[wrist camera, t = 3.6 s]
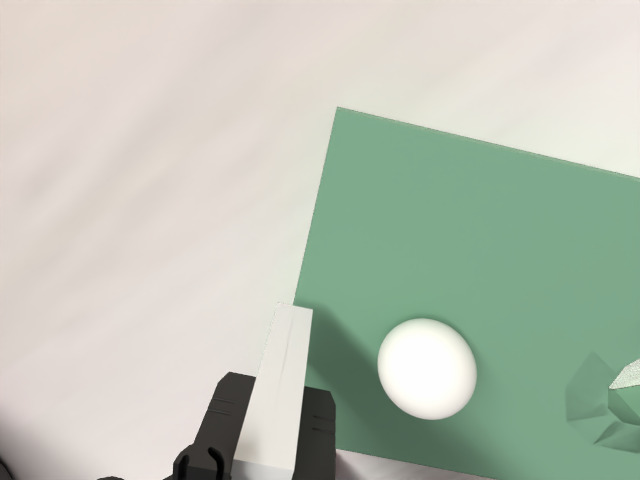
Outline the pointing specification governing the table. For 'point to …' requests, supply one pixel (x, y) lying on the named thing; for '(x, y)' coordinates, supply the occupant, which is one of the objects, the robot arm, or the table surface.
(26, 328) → the table surface
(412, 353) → the ball
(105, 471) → the table surface
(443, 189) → the green
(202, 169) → the table surface
